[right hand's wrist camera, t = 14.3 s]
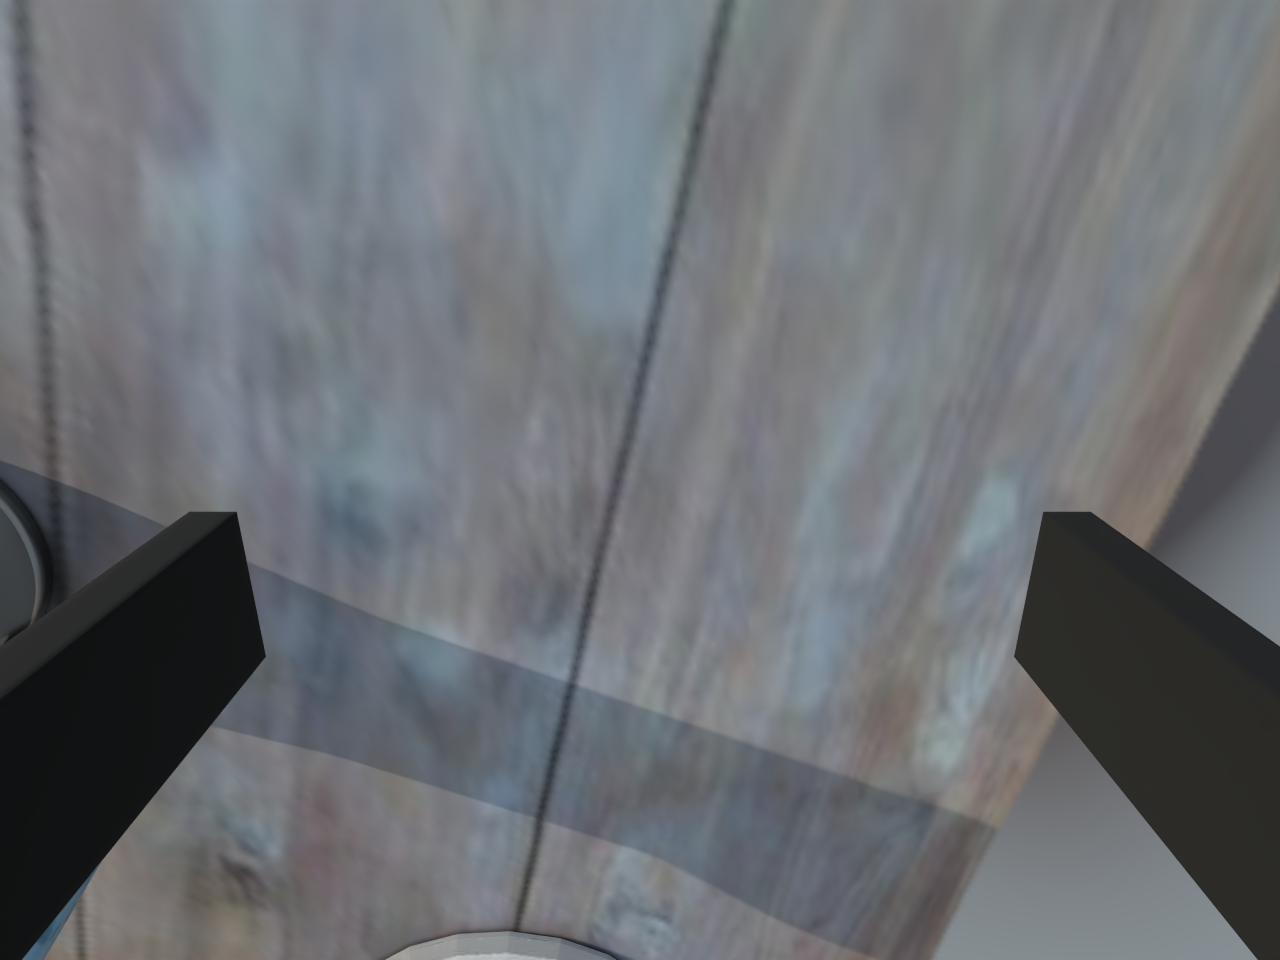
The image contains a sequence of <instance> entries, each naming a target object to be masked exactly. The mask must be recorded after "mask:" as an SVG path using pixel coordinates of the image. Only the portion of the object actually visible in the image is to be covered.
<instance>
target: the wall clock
mask: <svg viewBox="0 0 1280 960" xmlns="http://www.w3.org/2000/svg"><path fill="white" fill-rule="evenodd" d="M386 960H616V959H614V958H613V957H611V956H610V955H608V954H605V953H602V952H599V951H596V950H593V949H590V948H588V947H585V946H582V945H579V944H576V943H573V942H570V941H567V940H564V939H561V938H555V937H547V936H540V935H533V934H526V933H518V932H511V931H505V932H486V933H468V934H456V935H452V936H448V937H445V938H441V939H437V940H433V941H429V942H425V943H421V944H418V945H414V946H410V947H408V948H406V949H405V950H403V951H401V952H399V953H397V954H395V955H393V956H391V957H389V958H387V959H386Z"/></svg>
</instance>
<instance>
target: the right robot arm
mask: <svg viewBox="0 0 1280 960" xmlns="http://www.w3.org/2000/svg"><path fill="white" fill-rule="evenodd" d="M265 657H266V655H265V650H264V645H263V640H262V635H261V630H260V625H259V620H258V615H257V610H256V606H255V601H254V596H253V591H252V586H251V581H250V576H249V571H248V566H247V561H246V556H245V551H244V546H243V541H242V536H241V531H240V526H239V521H238V517H237V512H189V513H187V514H186V515H184V516H183V517H182V518H180V519H179V520H177V521H176V522H175V523H173V524H172V525H170V526H169V527H168V528H166V529H165V530H163V531H162V532H160V533H159V534H158V535H156V536H155V537H153V538H152V539H151V540H149V541H148V542H146V543H145V544H144V545H142V546H141V547H139V548H138V549H137V550H135V551H134V552H132V553H131V554H130V555H128V556H127V557H125V558H124V559H123V560H121V561H120V562H118V563H117V564H116V565H114V566H113V567H111V568H110V569H109V570H107V571H106V572H104V573H103V574H101V575H100V576H99V577H97V578H96V579H94V580H93V581H92V582H90V583H89V584H87V585H86V586H85V587H83V588H82V589H80V590H79V591H78V592H76V593H75V594H73V595H72V596H71V597H69V598H68V599H66V600H65V601H64V602H62V603H61V604H59V605H58V606H57V607H55V608H54V609H52V610H51V611H50V612H48V613H47V614H45V615H44V616H42V617H41V618H40V619H38V620H37V621H35V622H34V623H33V624H31V625H30V626H28V627H27V628H26V629H24V630H23V631H21V632H20V633H19V634H17V635H16V636H14V637H13V638H12V639H10V640H9V641H7V642H6V643H5V644H3V645H2V646H0V960H22V959H23V958H24V957H25V956H26V954H27V953H28V952H29V951H30V949H31V948H32V947H33V946H34V944H35V943H36V942H37V941H38V939H39V938H40V937H41V936H42V934H43V933H44V932H45V931H46V929H47V928H48V927H49V926H50V924H51V923H52V922H53V921H54V920H55V918H56V917H57V916H58V915H59V913H60V912H61V911H62V910H63V908H64V907H65V906H66V905H67V903H68V902H69V901H70V900H71V898H72V897H73V896H74V895H75V893H76V892H77V891H78V890H79V888H80V887H81V886H82V885H83V883H84V882H85V881H86V880H87V878H88V877H89V876H90V875H91V873H92V872H93V871H94V870H95V869H96V867H97V866H98V865H99V864H100V862H101V861H102V860H103V859H104V857H105V856H106V855H107V854H108V852H109V851H110V850H111V849H112V847H113V846H114V845H115V844H116V842H117V841H118V840H119V839H120V837H121V836H122V835H123V834H124V832H125V831H126V830H127V829H128V827H129V826H130V825H131V824H132V822H133V821H134V820H135V819H136V818H137V816H138V815H139V814H140V813H141V811H142V810H143V809H144V808H145V806H146V805H147V804H148V803H149V801H150V800H151V799H152V798H153V796H154V795H155V794H156V793H157V791H158V790H159V789H160V788H161V786H162V785H163V784H164V783H165V781H166V780H167V779H168V778H169V776H170V775H171V774H172V773H173V771H174V770H175V769H176V768H177V766H178V765H179V764H180V763H181V762H182V760H183V759H184V758H185V757H186V755H187V754H188V753H189V752H190V750H191V749H192V748H193V747H194V745H195V744H196V743H197V742H198V740H199V739H200V738H201V737H202V735H203V734H204V733H205V732H206V730H207V729H208V728H209V727H210V725H211V724H212V723H213V722H214V720H215V719H216V718H217V717H218V715H219V714H220V713H221V712H222V711H223V709H224V708H225V707H226V706H227V704H228V703H229V702H230V701H231V699H232V698H233V697H234V696H235V694H236V693H237V692H238V691H239V689H240V688H241V687H242V686H243V684H244V683H245V682H246V681H247V679H248V678H249V677H250V676H251V674H252V673H253V672H254V671H255V669H256V668H257V667H258V666H259V664H260V663H261V662H262V661H263V660H264V658H265ZM1014 657H1015V658H1016V660H1017V661H1018V662H1019V663H1020V664H1021V666H1022V667H1023V668H1024V669H1025V671H1026V672H1027V673H1028V674H1029V676H1030V677H1031V678H1032V679H1033V681H1034V682H1035V683H1036V684H1037V686H1038V687H1039V688H1040V689H1041V691H1042V692H1043V693H1044V694H1045V696H1046V697H1047V698H1048V699H1049V701H1050V702H1051V703H1052V704H1053V706H1054V707H1055V708H1056V709H1057V711H1058V712H1059V713H1060V714H1061V715H1062V717H1063V718H1064V719H1065V720H1066V722H1067V723H1068V724H1069V725H1070V727H1071V728H1072V729H1073V730H1074V732H1075V733H1076V734H1077V735H1078V737H1079V738H1080V739H1081V740H1082V741H1083V743H1084V744H1085V745H1086V747H1087V748H1088V749H1089V750H1090V752H1091V753H1092V754H1093V755H1094V757H1095V758H1096V759H1097V760H1098V761H1099V763H1100V764H1101V765H1102V767H1103V768H1104V769H1105V770H1106V771H1107V773H1108V774H1109V775H1110V776H1111V778H1112V779H1113V780H1114V781H1115V783H1116V784H1117V785H1118V786H1119V788H1120V789H1121V790H1122V791H1123V793H1124V794H1125V795H1126V796H1127V798H1128V799H1129V800H1130V801H1131V803H1132V804H1133V805H1134V806H1135V808H1136V809H1137V810H1138V811H1139V812H1140V814H1141V815H1142V816H1143V818H1144V819H1145V820H1146V821H1147V822H1148V824H1149V825H1150V826H1151V827H1152V829H1153V830H1154V831H1155V832H1156V834H1157V835H1158V836H1159V837H1160V839H1161V840H1162V841H1163V842H1164V844H1165V845H1166V846H1167V847H1168V848H1169V850H1170V851H1171V852H1172V854H1173V855H1174V856H1175V857H1176V859H1177V860H1178V861H1179V862H1180V864H1181V865H1182V866H1183V867H1184V868H1185V870H1186V871H1187V872H1188V873H1189V875H1190V876H1191V877H1192V878H1193V880H1194V881H1195V882H1196V883H1197V885H1198V886H1199V887H1200V888H1201V890H1202V891H1203V892H1204V893H1205V895H1206V896H1207V897H1208V898H1209V900H1210V901H1211V902H1212V903H1213V905H1214V906H1215V907H1216V908H1217V910H1218V911H1219V912H1220V913H1221V914H1222V916H1223V917H1224V918H1225V919H1226V921H1227V922H1228V923H1229V924H1230V926H1231V927H1232V928H1233V929H1234V931H1235V932H1236V933H1237V934H1238V936H1239V937H1240V938H1241V939H1242V941H1243V942H1244V943H1245V944H1246V946H1247V947H1248V948H1249V949H1250V951H1251V952H1252V953H1253V954H1254V956H1255V957H1256V958H1257V959H1258V960H1280V646H1278V645H1277V644H1275V643H1274V642H1273V641H1271V640H1270V639H1268V638H1267V637H1266V636H1264V635H1263V634H1261V633H1260V632H1259V631H1257V630H1256V629H1254V628H1253V627H1251V626H1250V625H1249V624H1247V623H1246V622H1245V621H1243V620H1242V619H1240V618H1239V617H1238V616H1236V615H1235V614H1233V613H1232V612H1230V611H1229V610H1228V609H1226V608H1225V607H1223V606H1222V605H1221V604H1219V603H1218V602H1216V601H1215V600H1214V599H1212V598H1211V597H1209V596H1208V595H1207V594H1205V593H1204V592H1202V591H1201V590H1200V589H1198V588H1197V587H1195V586H1194V585H1192V584H1191V583H1190V582H1188V581H1187V580H1185V579H1184V578H1183V577H1181V576H1180V575H1178V574H1177V573H1176V572H1174V571H1173V570H1171V569H1170V568H1169V567H1167V566H1166V565H1164V564H1163V563H1162V562H1160V561H1159V560H1157V559H1156V558H1155V557H1153V556H1152V555H1150V554H1149V553H1148V552H1146V551H1145V550H1143V549H1142V548H1141V547H1139V546H1138V545H1136V544H1135V543H1134V542H1132V541H1131V540H1129V539H1128V538H1127V537H1125V536H1124V535H1122V534H1121V533H1120V532H1118V531H1117V530H1115V529H1114V528H1112V527H1111V526H1110V525H1108V524H1107V523H1105V522H1104V521H1103V520H1101V519H1100V518H1098V517H1097V516H1096V515H1094V514H1093V513H1091V512H1043V517H1042V521H1041V526H1040V531H1039V536H1038V541H1037V546H1036V551H1035V556H1034V561H1033V566H1032V571H1031V576H1030V581H1029V586H1028V591H1027V596H1026V601H1025V606H1024V610H1023V615H1022V620H1021V625H1020V630H1019V635H1018V640H1017V645H1016V650H1015V655H1014Z"/></svg>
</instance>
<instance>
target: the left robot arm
mask: <svg viewBox="0 0 1280 960" xmlns="http://www.w3.org/2000/svg"><path fill="white" fill-rule="evenodd" d="M51 588H52V573H51V565H50V559H49V555H48V552H47V548H46V545H45V543H44V540H43V538H42V535H41V533H40V531H39V529H38V527H37V525H36V524H35V522H34V520H33V519H32V517H31V516H30V514H29V512H28V511H27V510H26V508H25V507H24V506H23V504H22V503H21V502H20V501H19V499H18V498H17V497H16V496H15V495H14V494H13V493H12V491H11V490H10V489H8V488H7V487H6V486H5V485H4V484H3V483H2V482H1V481H0V646H2V645H3V644H5V643H6V642H7V641H9V640H10V639H12V638H13V637H14V636H16V635H17V634H19V633H20V632H21V631H23V630H24V629H26V628H27V627H28V626H30V625H31V624H33V623H34V622H35V621H37V620H38V619H40V618H41V617H42V616H44V614H45V611H46V609H47V606H48V603H49V600H50V595H51ZM100 863H101V862H100ZM98 866H99V865H98ZM98 866H97V867H96V869H95V870H94V871H93V872H92V873H91V875H90V876H89V877H88V878H87V880H86V881H85V882H84V883H83V885H82V886H81V887H80V888H79V890H78V891H77V892H76V893H75V895H74V896H73V897H72V898H71V900H70V901H69V902H68V903H67V905H66V906H65V907H64V908H63V910H62V911H61V912H60V913H59V915H58V916H57V917H56V918H55V920H54V921H53V922H52V923H51V924H50V926H49V927H48V928H47V929H46V931H45V932H44V933H43V934H42V936H41V937H40V938H39V939H38V941H37V942H36V943H35V944H34V946H33V947H32V948H31V949H30V951H29V952H28V953H27V954H26V956H25V957H24V958H23V959H22V960H44V958H45V957H46V955H47V953H48V952H49V950H50V948H51V946H52V945H53V943H54V941H55V940H56V938H57V936H58V935H59V933H60V931H61V930H62V928H63V926H64V925H65V923H66V921H67V919H68V918H69V916H70V914H71V913H72V911H73V909H74V908H75V906H76V904H77V902H78V901H79V899H80V897H81V896H82V894H83V892H84V890H85V889H86V887H87V885H88V884H89V882H90V880H91V878H92V877H93V875H94V873H95V871H96V870H97V868H98Z"/></svg>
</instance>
